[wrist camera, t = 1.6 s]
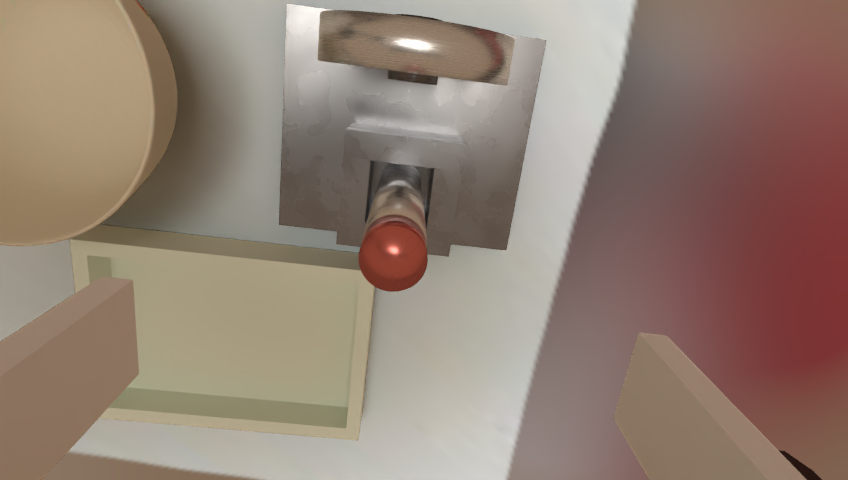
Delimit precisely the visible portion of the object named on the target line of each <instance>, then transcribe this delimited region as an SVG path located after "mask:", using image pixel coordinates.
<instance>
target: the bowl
mask: <svg viewBox="0 0 848 480" xmlns="http://www.w3.org/2000/svg"><path fill="white" fill-rule="evenodd" d="M177 101H178V94H177V85H176V77H175V73H174V69H173V65H172V62H171V59H170V56H169V52H168V50H167V48H166V46H165V43H164V41H163V39H162V37H161V35H160V33H159V31H158V30H157V28H156V26H155V25H154V23H153V21H152V20H151V18H150V17H149V15H148V14H147V13H146V11H145V10H144V9H143V7H142V6H141V5H140V4H139V2H138V1H137V0H0V245H9V246H34V245H42V244H50V243H54V242H59V241H62V240H66V239H69V238H72V237H75V236H77V235H80V234H82V233H84V232H86V231H88V230H90V229H92V228H94V227H95V226H97V225H99V224H100V223H102V222H103V221H105V220H106V219H107V218H109V217H110V216H111V215H112V214H114V213H115V212H116V211H117V210H118V209H119V208H120V207H121V206H122V205H123V204H124V203H125V202H126V201H127V200H128V199H129V198H130V197H131V196H132V195H133V193H134V192H135V191H136V190H137V189H138V188H139V187H140V186H141V185H142V184H143V182H144V181H145V180H146V179H147V178H148V177H149V175H150V174H151V173H152V172H153V170H154V169H155V167H156V166H157V165H158V163H159V162H160V160H161V159H162V157H163V155H164V153H165V152H166V149H167V147H168V145H169V142H170V140H171V137H172V135H173V131H174V127H175V123H176V116H177Z"/></svg>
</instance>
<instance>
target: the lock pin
mask: <svg viewBox="0 0 848 480" xmlns="http://www.w3.org/2000/svg"><path fill="white" fill-rule="evenodd" d="M359 266H360V270H361V272H362V274H363V276H364V277H365V278H366V280H367V281H368V282H369V283H371V284H372V285H373V286H375V287H377V288H379V289H381V290H385V291H402V290H405V289H408V288H410V287H412V286H413V285H415V284H416V283H417V282H418V281H419V280H420V279H421V278H422V276H423V275H424V273H425V270H426V267H427V235H426V225H425V214H424V204H423V193H422V183H421V176H420V173H419V171H418V170H417V169H416V168H415V167H414V166H413V165H404V164H396V163H391V164H389V165H388V166H387V167H385V169H384V170H383V171H382V173H381V176H380V180H379V183H378V186H377V190H376V193H375V196H374V200H373V203H372V207H371V210H370V213H369V217H368V220H367V223H366V227H365V230H364V233H363V237H362V245H361V248H360V251H359Z"/></svg>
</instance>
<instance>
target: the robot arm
mask: <svg viewBox="0 0 848 480" xmlns="http://www.w3.org/2000/svg"><path fill="white" fill-rule="evenodd" d="M138 375H139V365H138V350H137V334H136V318H135V302H134V287H133V280H131V279H121V278H112V277H100V278H98V279H97V280H95V281H94V282H92V283H91V284H89V285H88V286H86V287H84V288H83V289H81V290H80V291H78V292H77V293H75V294H74V295H72V296H71V297H69V298H67V299H66V300H64V301H63V302H61V303H60V304H58V305H57V306H55V307H53V308H52V309H50V310H49V311H47V312H46V313H44V314H43V315H41V316H40V317H38V318H36V319H35V320H33V321H32V322H30V323H29V324H27V325H26V326H24V327H22V328H21V329H19V330H18V331H16V332H15V333H13V334H12V335H10V336H9V337H7V338H5V339H4V340H2V341H1V342H0V480H42V479H43V478H44V477H45V476H46V475H47V474H48V472H50V470H51V469H52V468H53V467H54V466H55V465H56V464H57V463H58V462H59V460H61V458H62V457H63V456H64V455H65V454H66V453H67V452H68V451H69V450H70V449H71V448H72V446H73V445H74V444H75V443H76V442H77V441H78V440H79V439H80V438H81V437H82V436H83V435H84V433H85V432H86V431H87V430H88V429H89V428H90V427H91V426H92V425H93V424H94V423H95V421H96V420H97V419H98V418H99V417H100V416H101V415H102V414H103V413H104V412H105V411H106V409H107V408H108V407H109V406H110V405H111V404H112V403H113V402H114V401H115V400H116V399H117V397H118V396H119V395H120V394H121V393H122V392H123V391H124V390H125V389H126V388H127V387H128V386H129V384H130V383H131V382H132V381H133V380H134V379H135V378H136V377H137V376H138ZM614 420H615V422H616V423H617V425H618V427H619V429H620V430H621V432H622V434H623V436H624V437H625V439H626V440H627V442H628V444H629V446H630V448H631V449H632V451H633V453H634V454H635V456H636V458H637V460H638V461H639V463H640V465H641V467H642V468H643V470H644V472H645V473H646V475H647V477H648V479H649V480H822V479H821V478H820V477H819V476H818V475H817V474H816V473H815V472H814V471H812V470H811V469H810V468H808V467H807V466H805V465H804V464H802V463H801V462H799V461H798V460H797V459H795V458H794V457H792V456H791V455H789V454H788V453H786V452H785V451H778V450H777V449H776V448H775V447H774V446H773V445H772V444H771V442H769V440H768V439H767V438H766V437H765V436H764V435H763V434H762V433H761V432H760V431H759V430H758V429H757V428H756V427H755V426H754V425H753V424H752V423H751V422H750V421H749V420H748V419H747V418H746V417H745V416H744V415H743V414H742V413H741V412H740V411H739V410H738V409H737V408H736V407H735V405H734V404H733V403H731V401H730V400H729V399H728V398H727V397H726V396H725V395H724V394H723V393H722V392H721V391H720V390H719V389H718V388H717V387H716V386H715V385H714V384H713V383H712V382H711V381H710V380H709V379H708V378H707V377H706V376H705V375H704V374H703V373H702V372H701V371H700V370H699V368H697V366H696V365H695V364H694V363H693V362H692V361H691V360H690V359H689V358H688V357H687V356H686V355H685V354H684V353H683V352H682V351H681V350H680V349H679V348H678V347H677V346H676V345H675V344H674V343H673V342H672V341H671V340H670V339H669V338H668V337H667V336H665V335H656V334H647V333H639V334H638V337H637V340H636V344H635V347H634V351H633V354H632V358H631V361H630V364H629V368H628V371H627V374H626V378H625V381H624V385H623V388H622V392H621V395H620V398H619V402H618V405H617V408H616V412H615V415H614Z"/></svg>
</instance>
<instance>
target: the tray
mask: <svg viewBox="0 0 848 480" xmlns="http://www.w3.org/2000/svg"><path fill="white" fill-rule="evenodd" d="M70 247H71V257H72V266H73V276H74V285H75V293H77V292H78V291H80V290H81V289H83V288H84V287H86V286H88V285H89V284H91V283H92V282H94V281H95V280H97V279H98V278H100V277H112V278H121V279H131V280H133V287H134V302H135V318H136V334H137V350H138V365H139V375H138V376H137V377H136V378H135V379H134V380H133V381H132V382H131V383H130V384H129V386H128V387H127V388H126V389H125V390H124V391H123V392H122V393H121V394H120V395H119V396H118V397H117V399H116V400H115V401H114V402H113V403H112V404H111V405H110V406H109V407H108V408H107V409H106V411H105V412H104V413H103V414H102V415H101V416H100V417H99V418H105V419H116V420H128V421H140V422H151V423H163V424H174V425H186V426H198V427H209V428H221V429H233V430H244V431H256V432H267V433H279V434H291V435H302V436H314V437H325V438H337V439H349V440H358V438H359V431H360V424H361V417H362V410H363V400H364V391H365V381H366V371H367V362H368V352H369V343H370V333H371V323H372V314H373V304H374V295H375V286H373V285H372V284H371V283H369V282H368V281H367V280H366V278H365V277H364V276H363V274H362V272H361V270H360V266H359V253H354V252H345V251H336V250H327V249H317V248H308V247H299V246H290V245H281V244H272V243H263V242H254V241H245V240H236V239H227V238H217V237H208V236H199V235H190V234H181V233H172V232H163V231H154V230H145V229H136V228H126V227H117V226H108V225H98V226H96V227H94V228H92V229H90V230H88V231H86V232H84V233H82V234H80V235H77V236H75V237H73V238H71V239H70Z"/></svg>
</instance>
